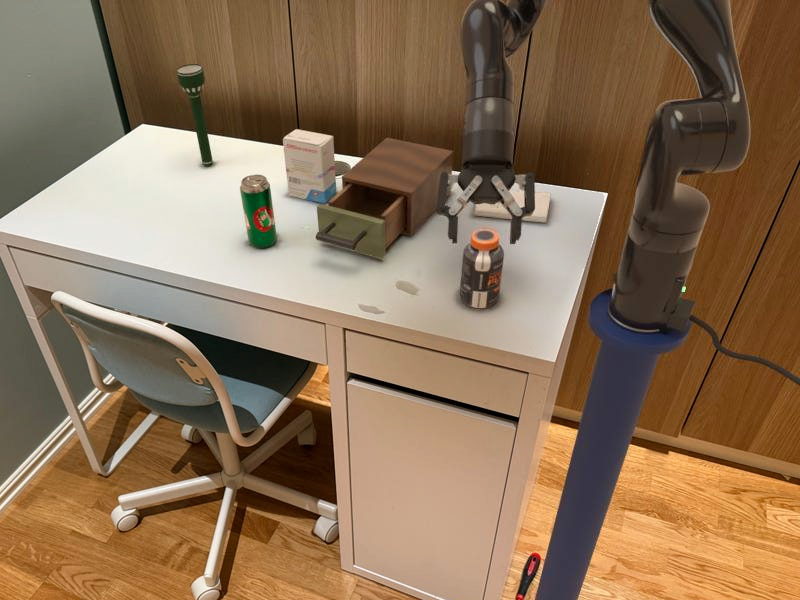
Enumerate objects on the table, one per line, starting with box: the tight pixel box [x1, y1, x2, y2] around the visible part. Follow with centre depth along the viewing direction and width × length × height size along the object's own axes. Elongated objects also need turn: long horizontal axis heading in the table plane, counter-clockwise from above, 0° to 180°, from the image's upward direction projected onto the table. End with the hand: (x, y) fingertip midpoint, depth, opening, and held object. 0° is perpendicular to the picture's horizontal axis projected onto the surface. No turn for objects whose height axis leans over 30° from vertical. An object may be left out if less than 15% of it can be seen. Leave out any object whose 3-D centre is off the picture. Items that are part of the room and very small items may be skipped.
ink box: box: [282, 128, 337, 205], centre depth 134 cm, size 8×5×12 cm, turn 59°
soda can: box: [239, 174, 278, 249], centre depth 123 cm, size 5×5×12 cm
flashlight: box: [176, 63, 214, 168], centre depth 143 cm, size 5×5×20 cm
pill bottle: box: [459, 228, 505, 309], centre depth 107 cm, size 6×6×11 cm
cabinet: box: [341, 137, 454, 238], centre depth 129 cm, size 17×14×9 cm
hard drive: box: [474, 189, 552, 224], centre depth 128 cm, size 2×8×12 cm
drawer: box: [315, 183, 407, 260], centre depth 122 cm, size 20×12×7 cm, turn 148°
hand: (483, 242), depth 106 cm, fingers open, 8 cm apart
